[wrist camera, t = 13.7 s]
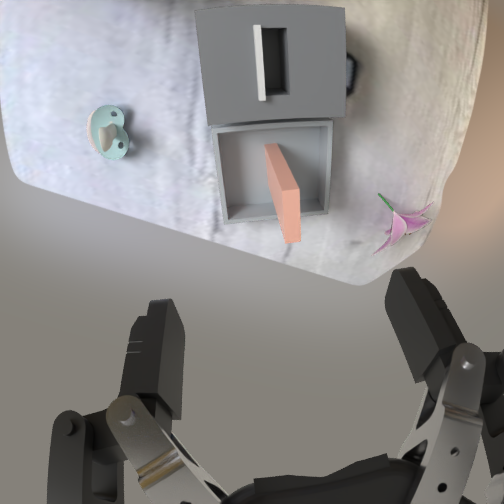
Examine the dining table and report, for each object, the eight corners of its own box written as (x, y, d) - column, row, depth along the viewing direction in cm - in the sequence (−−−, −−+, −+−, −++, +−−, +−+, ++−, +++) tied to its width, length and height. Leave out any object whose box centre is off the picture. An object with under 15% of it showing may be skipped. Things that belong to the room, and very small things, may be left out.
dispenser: (320, 13, 27) (347, 7, 20) (322, 102, 35) (348, 119, 28) (200, 17, 27) (193, 9, 20) (210, 109, 34) (207, 127, 28)
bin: (322, 112, 36) (332, 120, 33) (320, 199, 44) (328, 213, 41) (212, 120, 35) (211, 129, 32) (223, 208, 44) (224, 224, 40)
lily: (347, 234, 50) (382, 278, 45) (354, 192, 40) (401, 244, 35) (396, 202, 51) (431, 240, 46) (411, 158, 41) (455, 201, 36)
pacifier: (96, 158, 37) (135, 150, 37) (77, 178, 32) (120, 169, 32) (83, 109, 32) (124, 98, 32) (61, 122, 27) (105, 109, 27)
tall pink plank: (276, 142, 37) (299, 188, 27) (280, 184, 41) (300, 241, 31) (264, 144, 37) (281, 190, 27) (268, 185, 41) (285, 243, 31)
